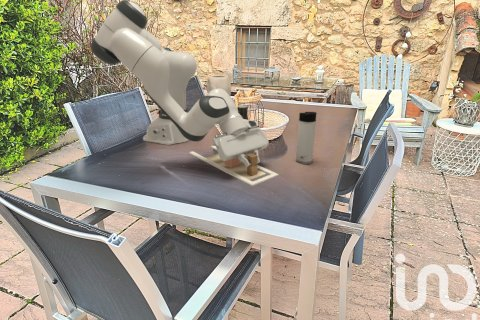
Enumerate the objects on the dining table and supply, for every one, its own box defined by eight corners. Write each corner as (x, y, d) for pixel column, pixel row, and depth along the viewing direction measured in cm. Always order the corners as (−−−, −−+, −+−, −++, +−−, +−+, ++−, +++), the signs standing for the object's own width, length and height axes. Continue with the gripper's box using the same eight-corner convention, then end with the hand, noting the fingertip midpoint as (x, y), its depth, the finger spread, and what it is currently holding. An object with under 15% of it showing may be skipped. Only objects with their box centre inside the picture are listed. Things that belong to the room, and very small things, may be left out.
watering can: (198, 108, 207) (196, 78, 200) (217, 100, 230) (216, 72, 223) (219, 110, 202) (218, 79, 194) (237, 102, 224) (237, 74, 217)
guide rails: (189, 156, 131) (189, 152, 130) (214, 149, 138) (213, 145, 137) (252, 190, 105) (252, 184, 104) (278, 179, 112) (278, 174, 111)
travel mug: (303, 166, 122) (307, 114, 115) (292, 160, 128) (296, 110, 120) (316, 163, 125) (321, 112, 117) (305, 157, 130) (309, 108, 123)
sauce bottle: (253, 151, 136) (254, 105, 129) (248, 156, 131) (249, 108, 123) (238, 149, 138) (238, 103, 131) (233, 155, 133) (233, 107, 125)
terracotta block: (224, 164, 120) (224, 154, 119) (232, 161, 123) (232, 151, 121) (231, 167, 118) (231, 157, 116) (239, 164, 120) (239, 154, 118)
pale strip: (204, 160, 127) (204, 140, 123) (221, 155, 131) (220, 136, 128) (249, 183, 108) (249, 160, 105) (266, 176, 113) (267, 155, 110)
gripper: (214, 131, 105) (234, 168, 102) (260, 120, 117) (278, 153, 114) (207, 141, 110) (225, 176, 107) (252, 129, 122) (269, 161, 119)
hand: (253, 164), depth 110 cm, fingers closed on pale strip, 2 cm apart
